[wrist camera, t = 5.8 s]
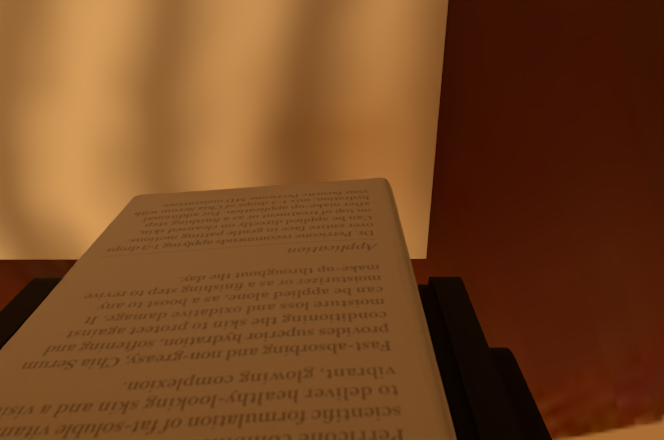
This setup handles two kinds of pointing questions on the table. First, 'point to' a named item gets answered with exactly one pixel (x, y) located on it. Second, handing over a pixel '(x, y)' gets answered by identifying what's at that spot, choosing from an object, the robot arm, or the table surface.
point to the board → (209, 106)
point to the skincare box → (233, 325)
